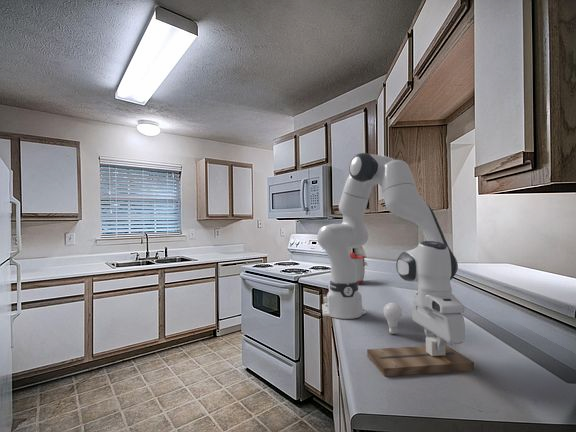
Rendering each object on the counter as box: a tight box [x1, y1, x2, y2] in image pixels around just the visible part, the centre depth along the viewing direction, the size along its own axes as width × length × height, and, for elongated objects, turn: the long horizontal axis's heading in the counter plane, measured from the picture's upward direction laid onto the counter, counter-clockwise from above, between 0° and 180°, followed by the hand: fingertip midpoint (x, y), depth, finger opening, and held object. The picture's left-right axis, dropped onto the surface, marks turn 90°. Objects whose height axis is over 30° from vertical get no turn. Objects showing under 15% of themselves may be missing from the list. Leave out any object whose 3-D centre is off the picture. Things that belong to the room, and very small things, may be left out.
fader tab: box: [425, 336, 445, 356], centre depth 87 cm, size 4×3×4 cm
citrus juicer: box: [349, 252, 369, 285], centre depth 199 cm, size 16×17×20 cm
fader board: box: [366, 344, 475, 377], centre depth 87 cm, size 25×12×2 cm, turn 96°
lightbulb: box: [382, 301, 403, 335], centre depth 109 cm, size 6×6×11 cm
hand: (435, 347), depth 87 cm, fingers closed on fader tab, 3 cm apart
